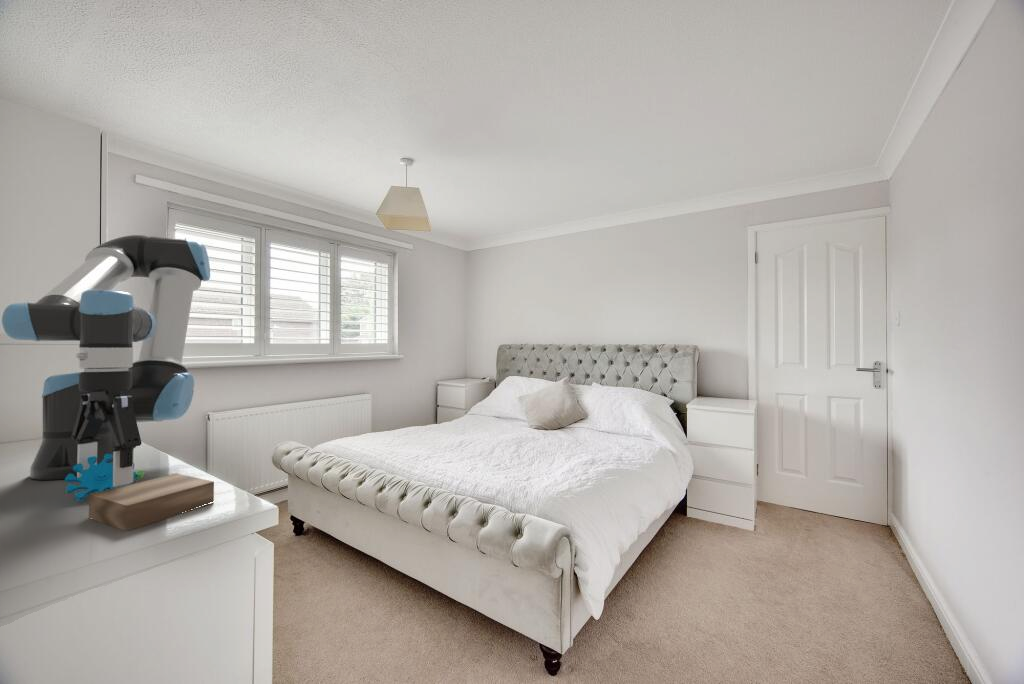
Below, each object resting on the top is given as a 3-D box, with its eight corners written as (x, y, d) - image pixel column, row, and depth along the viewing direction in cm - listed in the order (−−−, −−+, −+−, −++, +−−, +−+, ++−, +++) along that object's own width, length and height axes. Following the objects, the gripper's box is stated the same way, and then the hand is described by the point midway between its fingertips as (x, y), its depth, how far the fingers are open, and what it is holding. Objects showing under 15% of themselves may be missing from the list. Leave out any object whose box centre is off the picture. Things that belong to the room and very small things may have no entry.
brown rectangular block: (88, 518, 72) (89, 494, 72) (176, 493, 83) (176, 473, 83) (126, 531, 67) (126, 505, 67) (213, 503, 78) (213, 481, 79)
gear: (55, 500, 75) (74, 451, 82) (57, 516, 78) (75, 468, 85) (137, 496, 82) (148, 451, 88) (136, 511, 85) (147, 467, 91)
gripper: (49, 370, 84) (47, 477, 84) (115, 372, 74) (113, 494, 73) (99, 368, 91) (97, 468, 90) (165, 370, 81) (163, 482, 80)
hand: (104, 480), depth 82 cm, fingers open, 13 cm apart
